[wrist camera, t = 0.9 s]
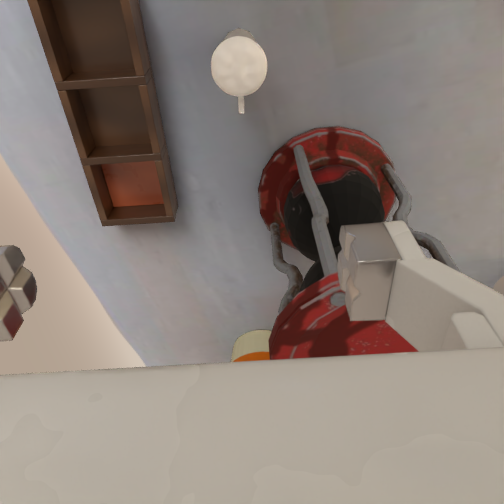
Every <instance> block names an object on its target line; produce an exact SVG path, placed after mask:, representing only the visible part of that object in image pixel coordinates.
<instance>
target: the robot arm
mask: <svg viewBox="0 0 504 504" xmlns="http://www.w3.org/2000/svg"><path fill="white" fill-rule="evenodd" d="M339 241H340V244H341V247H342V250H341V251H340V252H339V253H338V262H337V268H338V279H339V284H340V288H341V290H342V291H344V292H345V305H346V308H347V312H348V315H349V318H350V321H370V320H385V322H386V323H388V324H389V325H390V326H391V327H392V328H393V329H394V330H395V331H396V332H398V333H399V334H400V335H401V336H402V337H403V338H404V339H405V340H407V341H408V342H409V343H410V344H411V345H412V346H413V347H414V348H415V349H417V350H418V351H419V352H403V353H385V354H367V355H351V356H333V357H315V358H296V359H278V360H260V361H242V362H223V363H205V364H187V365H169V366H152V367H134V368H117V369H101V370H100V369H99V370H82V371H64V372H45V373H28V374H9V375H0V504H504V295H502V294H501V293H499V292H497V291H495V290H493V289H491V288H489V287H487V286H485V285H483V284H481V283H479V282H478V281H476V280H474V279H472V278H470V277H468V276H466V275H464V274H462V273H460V272H458V271H456V270H455V269H453V268H451V267H449V266H447V265H445V264H443V263H441V262H439V261H437V260H435V259H434V258H426V256H425V255H424V253H423V251H422V250H421V248H420V246H419V245H418V243H417V241H416V240H415V238H414V236H413V235H412V233H411V231H410V230H409V228H408V226H407V225H406V223H405V222H404V221H402V220H398V221H388V222H380V223H368V224H356V225H344V226H341V228H340V234H339ZM24 261H25V257H24V256H23V254H22V252H21V250H20V248H18V247H16V246H14V245H11V246H10V245H9V246H0V341H11V340H13V338H14V336H15V335H16V333H17V331H18V330H19V328H20V326H21V325H22V323H23V321H24V320H23V317H22V315H21V314H23V313H24V312H26V311H27V310H28V309H30V308H31V307H32V305H33V303H34V302H35V300H36V293H37V286H36V280H35V278H34V276H33V274H32V272H30V271H29V270H28V269H26V268H25V267H23V263H24Z"/></svg>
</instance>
